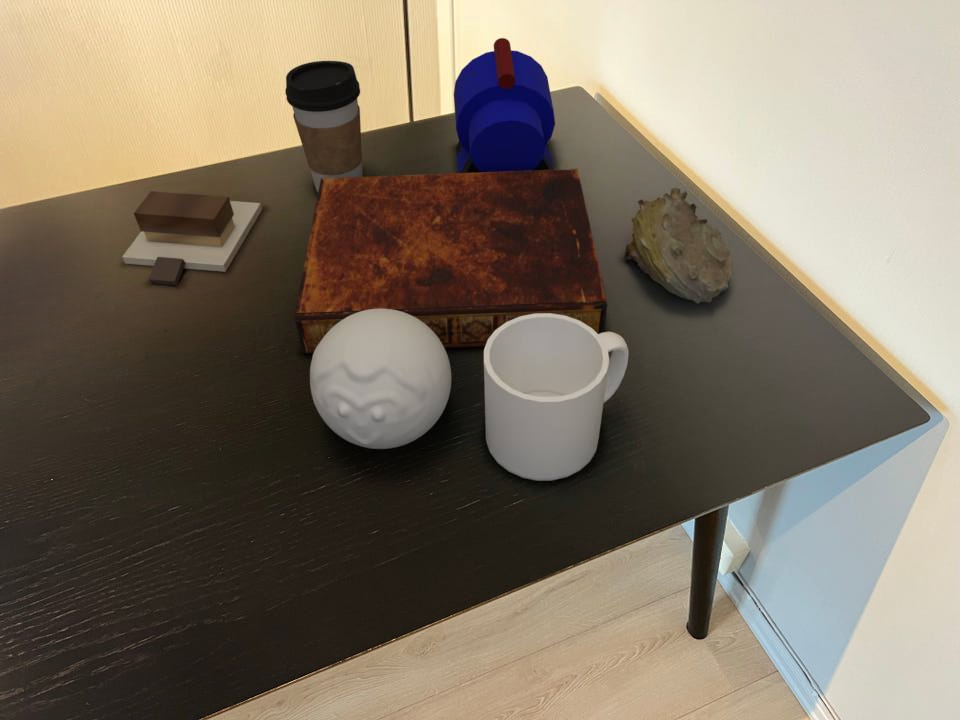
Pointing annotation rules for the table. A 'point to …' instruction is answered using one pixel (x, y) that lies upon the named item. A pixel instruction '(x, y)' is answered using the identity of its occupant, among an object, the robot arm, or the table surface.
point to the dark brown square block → (167, 271)
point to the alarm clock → (503, 113)
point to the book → (451, 253)
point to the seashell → (679, 248)
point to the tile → (198, 254)
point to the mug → (548, 393)
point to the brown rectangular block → (185, 218)
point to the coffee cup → (327, 117)
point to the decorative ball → (380, 378)
